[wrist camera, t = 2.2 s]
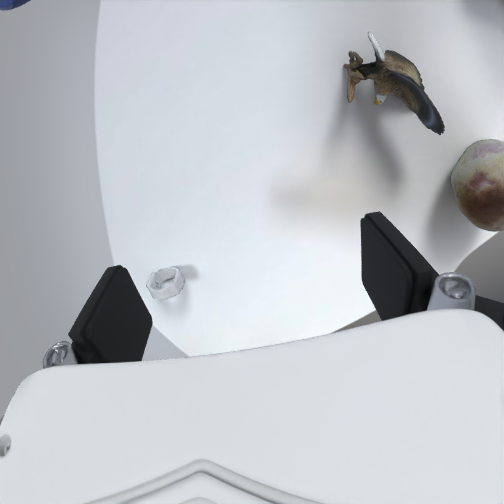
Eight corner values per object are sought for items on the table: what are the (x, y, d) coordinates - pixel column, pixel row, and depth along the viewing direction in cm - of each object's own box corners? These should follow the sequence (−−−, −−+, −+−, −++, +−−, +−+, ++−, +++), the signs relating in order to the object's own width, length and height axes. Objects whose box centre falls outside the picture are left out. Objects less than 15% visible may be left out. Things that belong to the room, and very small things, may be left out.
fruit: (483, 118, 22) (562, 147, 12) (501, 183, 26) (565, 226, 16) (426, 160, 25) (506, 206, 15) (450, 226, 29) (512, 284, 19)
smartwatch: (182, 260, 30) (175, 283, 26) (189, 277, 31) (183, 301, 28) (152, 267, 30) (142, 290, 27) (160, 283, 31) (151, 306, 28)
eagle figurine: (336, 126, 22) (429, 150, 22) (356, 77, 15) (469, 116, 15) (339, 62, 23) (422, 86, 22) (353, 12, 16) (452, 46, 15)
